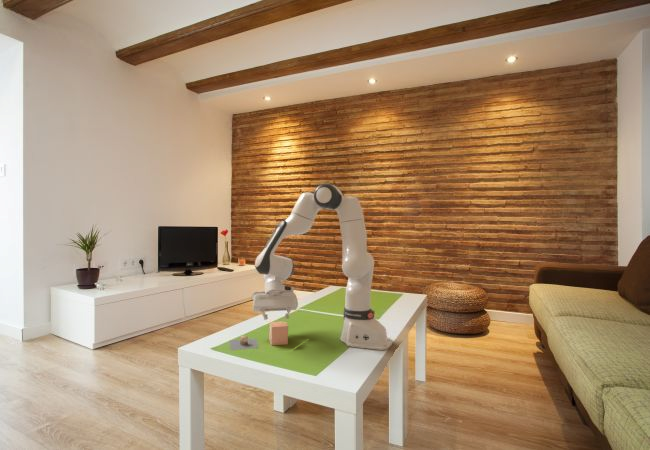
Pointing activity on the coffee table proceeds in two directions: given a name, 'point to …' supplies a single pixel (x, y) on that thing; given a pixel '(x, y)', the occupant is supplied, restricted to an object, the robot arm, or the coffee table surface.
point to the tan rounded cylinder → (243, 340)
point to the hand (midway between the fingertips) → (276, 318)
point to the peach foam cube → (278, 333)
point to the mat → (236, 345)
